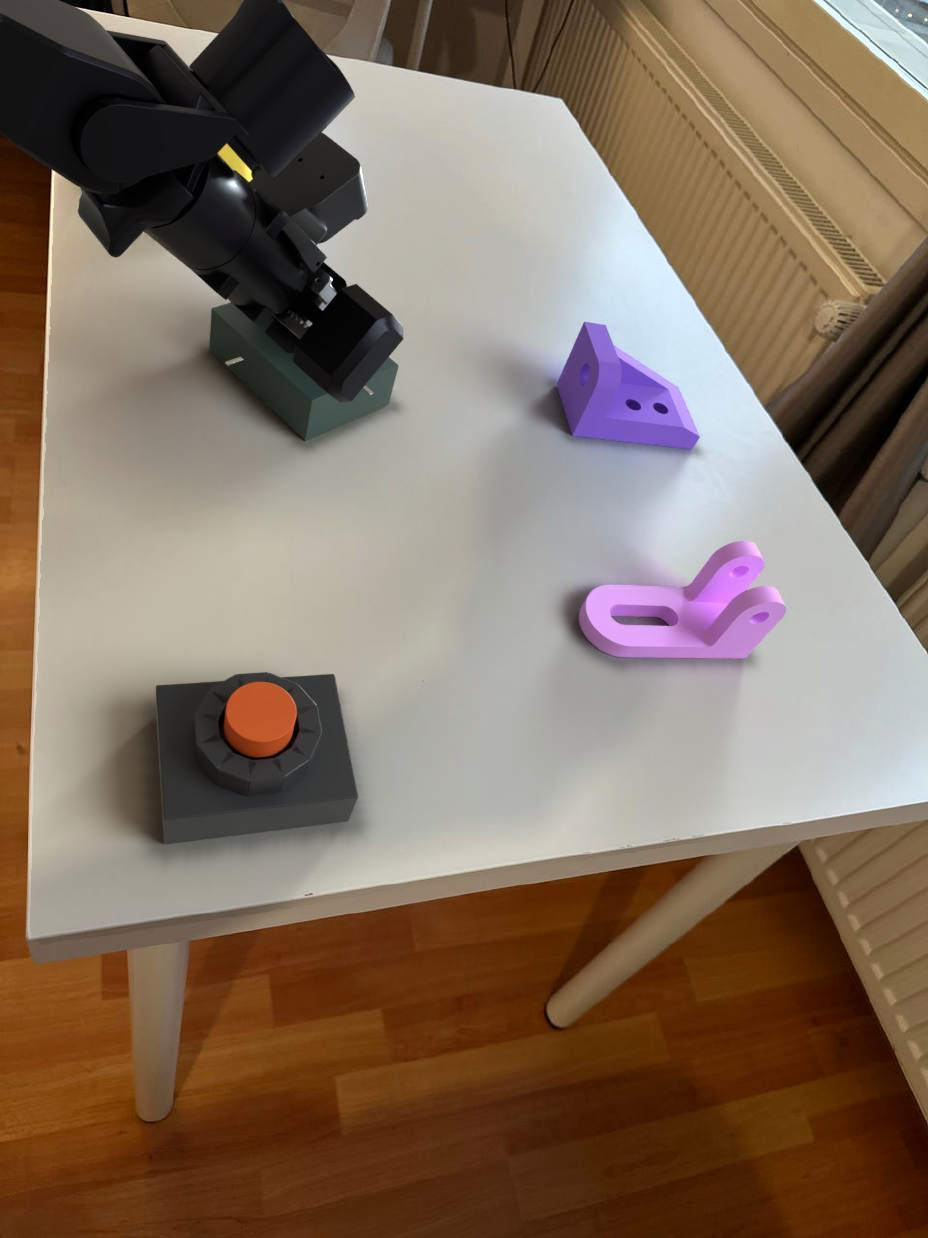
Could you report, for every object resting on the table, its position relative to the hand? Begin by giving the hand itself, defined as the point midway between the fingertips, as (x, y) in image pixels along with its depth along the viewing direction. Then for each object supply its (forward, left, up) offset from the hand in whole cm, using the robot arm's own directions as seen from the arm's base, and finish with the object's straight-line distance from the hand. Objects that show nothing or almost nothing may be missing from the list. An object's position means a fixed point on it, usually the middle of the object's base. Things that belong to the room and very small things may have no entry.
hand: (330, 331), depth 64 cm
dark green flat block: (-3, +3, -7) cm, 8 cm away
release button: (+10, -30, -3) cm, 32 cm away
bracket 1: (+23, +17, -7) cm, 30 cm away
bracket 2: (+31, -6, -7) cm, 33 cm away
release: (+10, -30, -7) cm, 33 cm away
